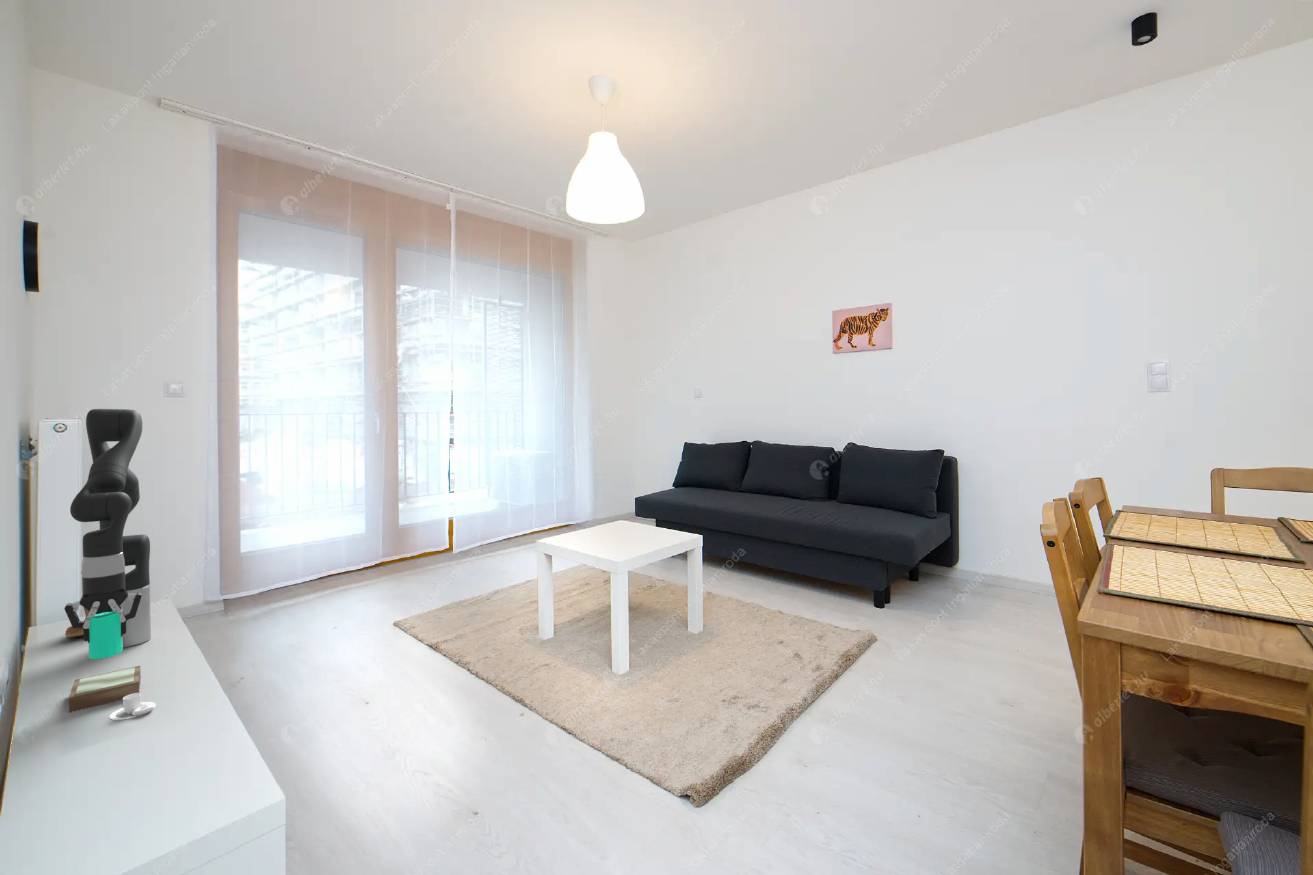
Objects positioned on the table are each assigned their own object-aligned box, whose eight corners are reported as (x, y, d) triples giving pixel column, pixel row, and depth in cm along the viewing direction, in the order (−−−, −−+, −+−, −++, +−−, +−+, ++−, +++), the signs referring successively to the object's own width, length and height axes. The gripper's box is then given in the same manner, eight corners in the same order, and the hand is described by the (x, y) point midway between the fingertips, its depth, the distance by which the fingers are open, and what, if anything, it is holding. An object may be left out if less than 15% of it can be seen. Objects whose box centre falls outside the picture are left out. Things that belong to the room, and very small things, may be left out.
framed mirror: (75, 693, 137) (74, 678, 137) (140, 678, 145) (140, 664, 145) (68, 712, 128) (68, 697, 128) (139, 695, 136) (138, 680, 136)
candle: (129, 649, 139) (128, 603, 138) (103, 659, 133) (102, 611, 132) (108, 648, 139) (107, 602, 139) (81, 658, 133) (80, 610, 133)
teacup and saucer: (157, 713, 129) (157, 696, 128) (109, 727, 123) (109, 709, 123) (154, 700, 135) (153, 684, 134) (108, 712, 129) (108, 696, 129)
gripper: (143, 563, 143) (145, 627, 144) (63, 574, 133) (65, 642, 134) (142, 569, 137) (144, 636, 138) (59, 580, 128) (61, 651, 128)
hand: (105, 638), depth 136 cm, fingers closed on candle, 4 cm apart
